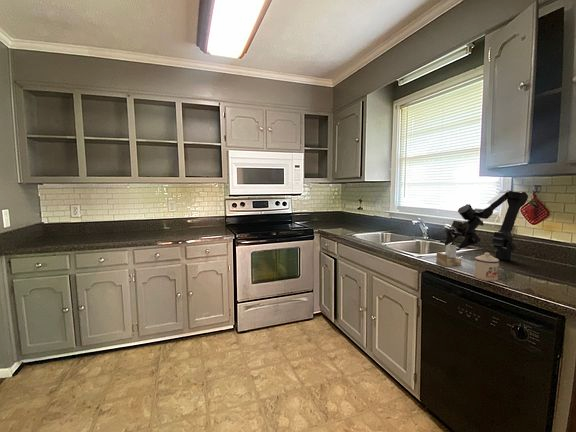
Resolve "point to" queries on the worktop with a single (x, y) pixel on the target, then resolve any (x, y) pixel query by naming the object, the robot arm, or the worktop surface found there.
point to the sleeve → (447, 260)
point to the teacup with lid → (486, 267)
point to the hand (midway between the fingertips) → (451, 246)
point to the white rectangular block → (450, 251)
